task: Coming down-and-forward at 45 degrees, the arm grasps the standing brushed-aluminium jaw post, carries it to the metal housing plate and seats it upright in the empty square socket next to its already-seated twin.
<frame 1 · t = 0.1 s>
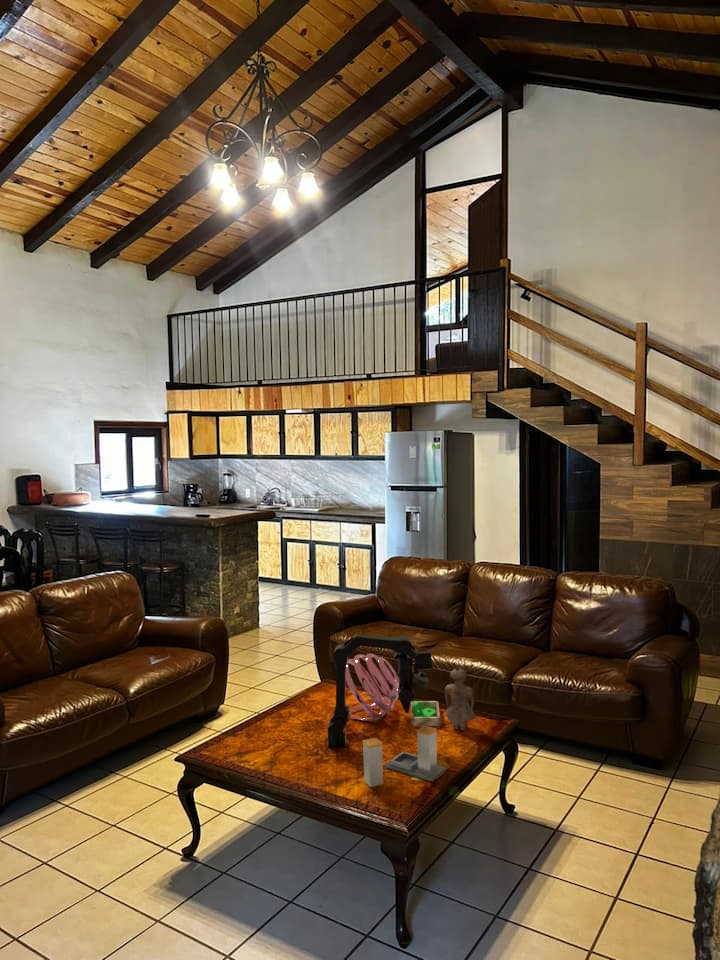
hand: (407, 708, 276), 15 cm above the table, tool pointing down, fingers open, 9 cm apart
housing: (406, 766, 259), on the table
jaw post: (373, 782, 248), on the table
parts corral: (425, 717, 303), on the table
mechanical part: (425, 718, 303), on the table
clay figurine: (460, 728, 291), on the table
spiral basket: (372, 716, 306), on the table
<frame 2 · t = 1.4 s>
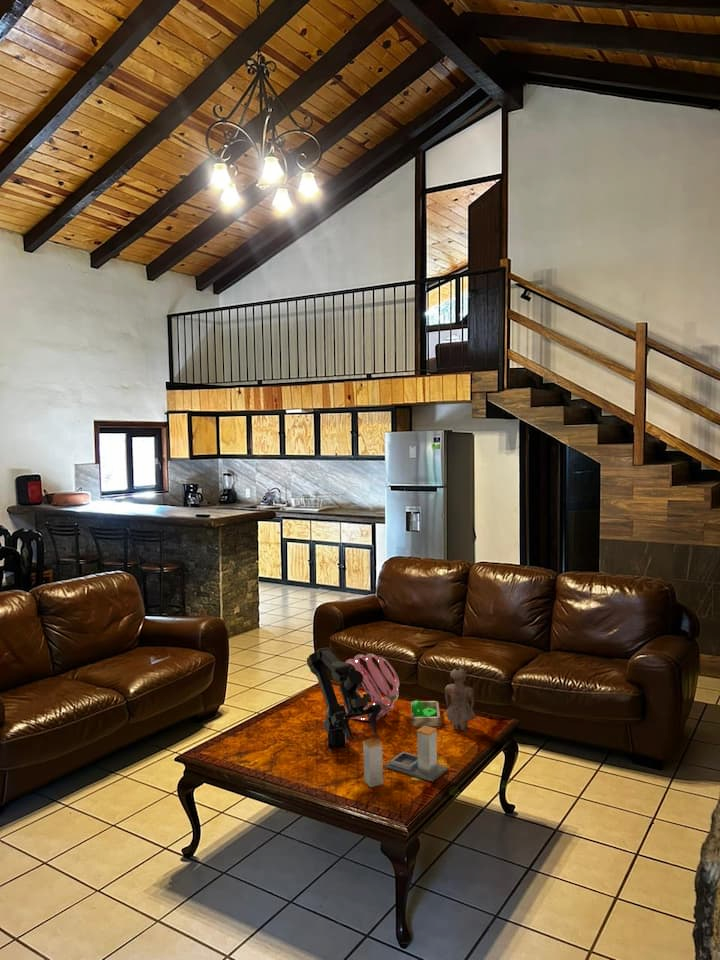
hand: (364, 736, 255), 13 cm above the table, tool tilted 45°, fingers open, 9 cm apart
mechanical part: (425, 718, 303), on the table, touching parts corral
everything else where it was.
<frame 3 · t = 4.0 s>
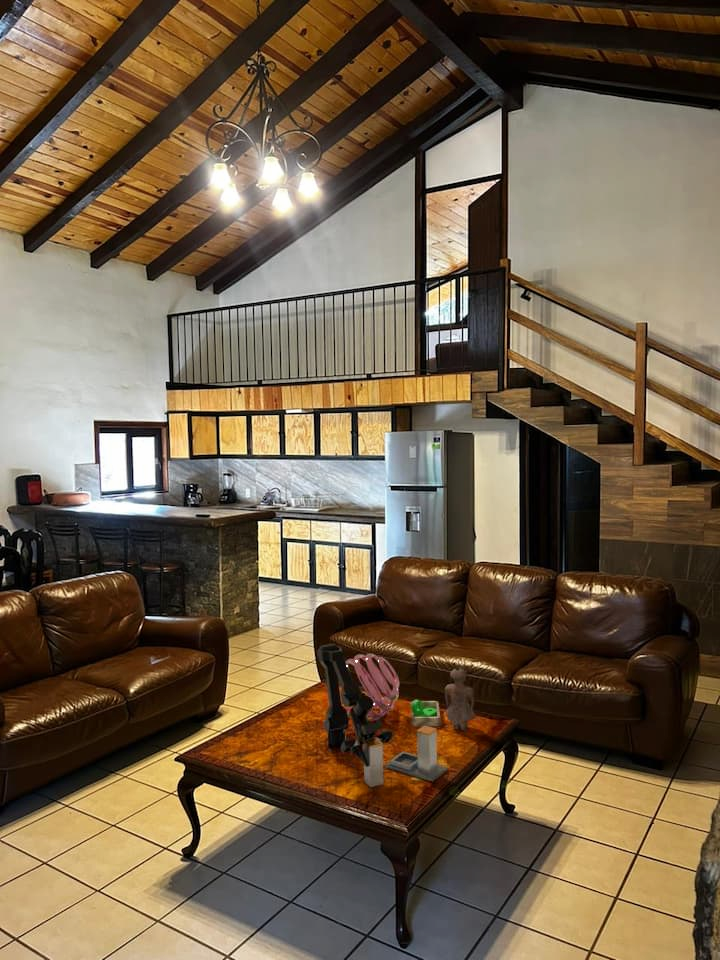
hand: (374, 764, 246), 7 cm above the table, tool tilted 45°, fingers closed on jaw post, 5 cm apart
jaw post: (373, 782, 248), on the table, touching gripper
everything else where it was.
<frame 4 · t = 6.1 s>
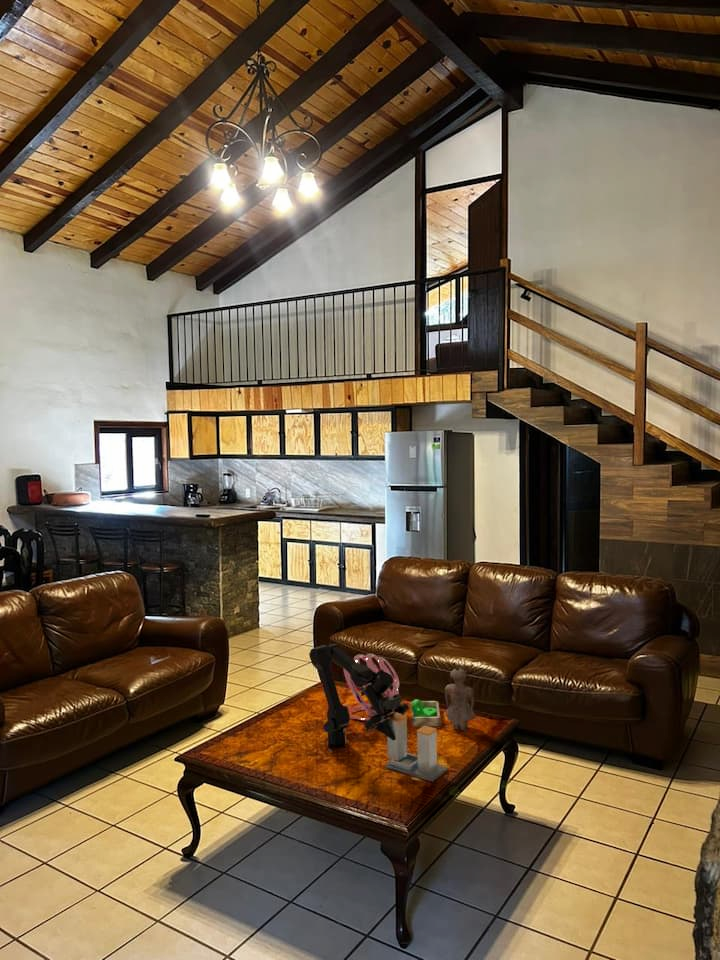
hand: (399, 737, 253), 13 cm above the table, tool tilted 45°, fingers closed on jaw post, 5 cm apart
jaw post: (397, 756, 255), point 6 cm above the table, touching gripper
when the fingers open (9 cm above the table, at t = 7.9 s): jaw post stays where it is, resting on housing.
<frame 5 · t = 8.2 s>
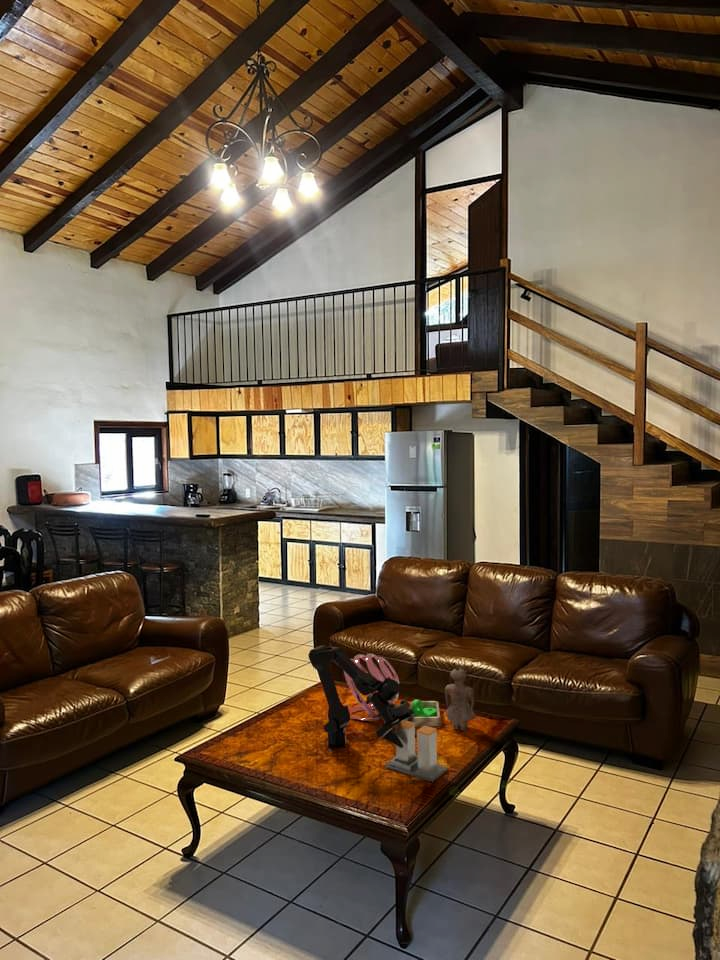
hand: (409, 742, 258), 9 cm above the table, tool tilted 45°, fingers open, 9 cm apart
jaw post: (405, 762, 259), point 1 cm above the table, touching housing
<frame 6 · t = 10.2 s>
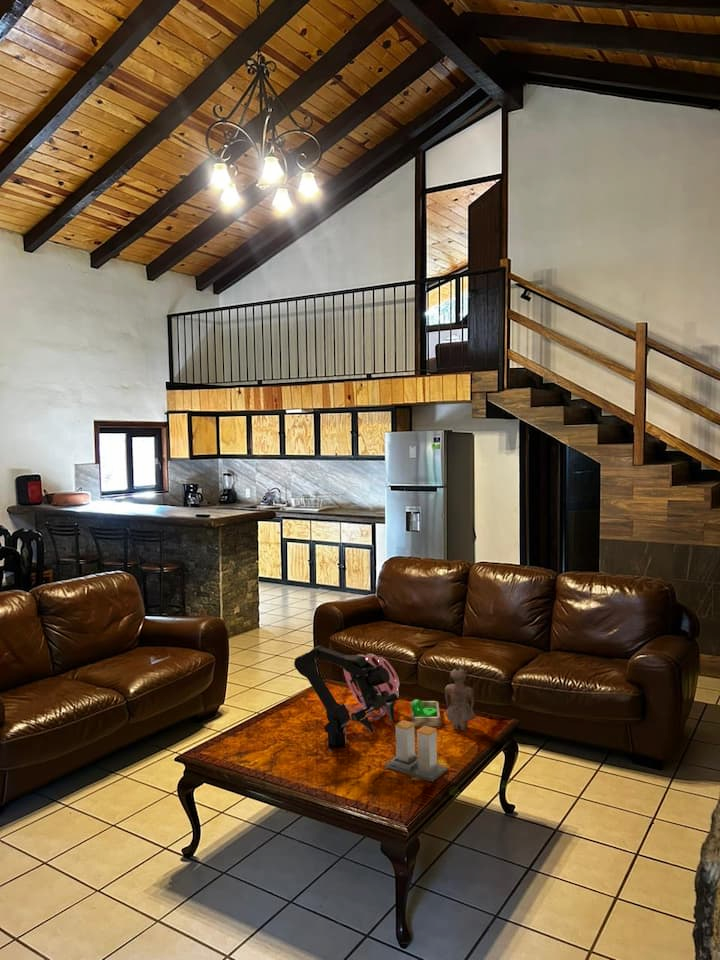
hand: (383, 728, 267), 11 cm above the table, tool tilted 25°, fingers open, 9 cm apart
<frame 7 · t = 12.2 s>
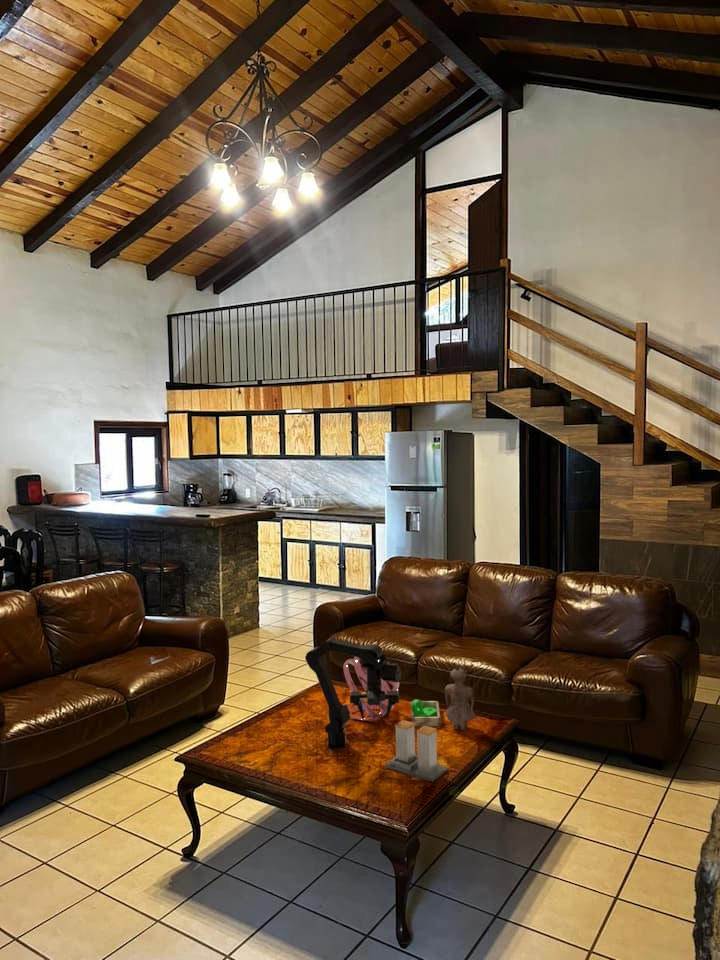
hand: (375, 718, 271), 13 cm above the table, tool pointing down, fingers open, 9 cm apart
at the end: jaw post 0.3 cm off-centre on the housing, point 1.2 cm above the housing's base; jaw post tilted 0°; the gripper is holding nothing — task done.
